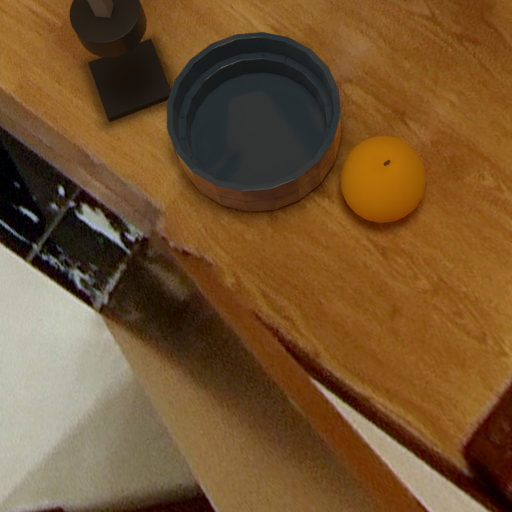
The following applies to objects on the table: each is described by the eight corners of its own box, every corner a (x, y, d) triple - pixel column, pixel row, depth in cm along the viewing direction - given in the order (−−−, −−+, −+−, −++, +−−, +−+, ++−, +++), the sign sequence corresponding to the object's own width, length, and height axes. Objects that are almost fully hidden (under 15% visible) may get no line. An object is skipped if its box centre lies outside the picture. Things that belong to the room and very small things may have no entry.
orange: (332, 164, 84) (330, 131, 77) (411, 146, 84) (417, 111, 76) (350, 239, 81) (351, 213, 74) (432, 222, 81) (440, 193, 74)
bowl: (304, 41, 88) (301, 8, 82) (365, 176, 83) (367, 151, 77) (157, 98, 88) (144, 69, 82) (209, 237, 83) (199, 216, 77)
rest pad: (152, 42, 90) (150, 38, 89) (173, 97, 88) (172, 94, 87) (89, 66, 90) (87, 62, 89) (109, 122, 88) (107, 118, 87)
